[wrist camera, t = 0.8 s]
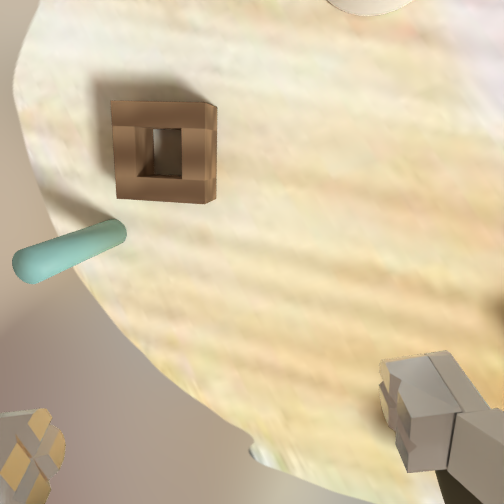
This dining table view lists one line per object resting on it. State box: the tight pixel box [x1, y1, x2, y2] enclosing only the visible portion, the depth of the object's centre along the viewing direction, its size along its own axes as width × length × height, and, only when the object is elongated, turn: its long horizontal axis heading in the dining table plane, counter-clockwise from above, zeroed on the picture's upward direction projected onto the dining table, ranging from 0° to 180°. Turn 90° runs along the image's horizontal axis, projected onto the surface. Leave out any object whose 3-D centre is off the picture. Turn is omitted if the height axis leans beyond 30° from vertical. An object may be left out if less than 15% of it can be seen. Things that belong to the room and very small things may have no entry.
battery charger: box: [435, 469, 483, 504], centre depth 46 cm, size 7×4×11 cm, turn 139°
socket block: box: [111, 101, 217, 204], centre depth 45 cm, size 11×11×5 cm
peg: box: [12, 219, 127, 284], centre depth 44 cm, size 4×4×16 cm
